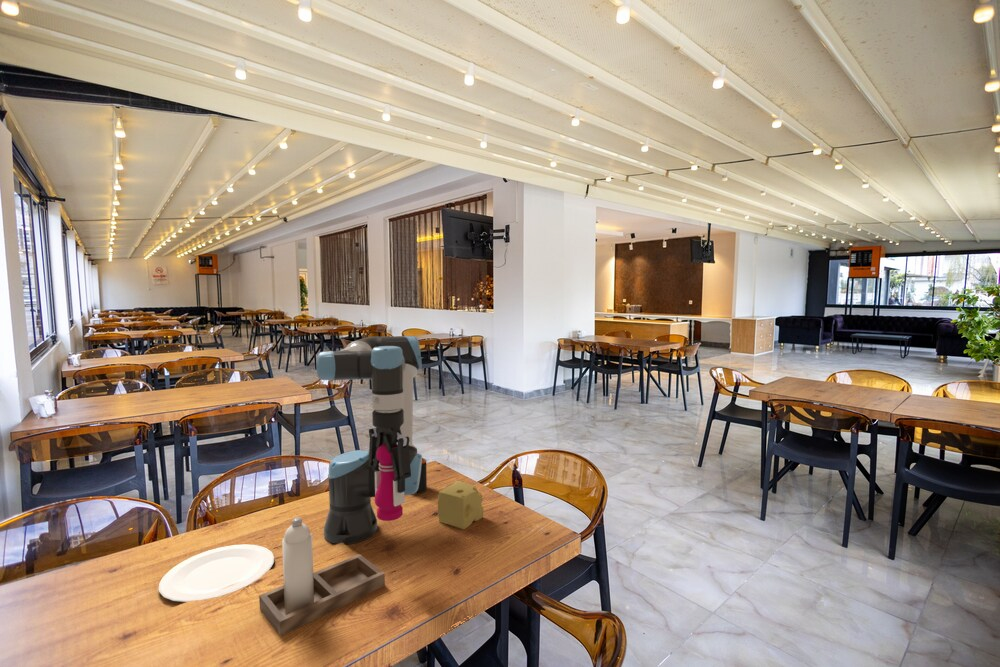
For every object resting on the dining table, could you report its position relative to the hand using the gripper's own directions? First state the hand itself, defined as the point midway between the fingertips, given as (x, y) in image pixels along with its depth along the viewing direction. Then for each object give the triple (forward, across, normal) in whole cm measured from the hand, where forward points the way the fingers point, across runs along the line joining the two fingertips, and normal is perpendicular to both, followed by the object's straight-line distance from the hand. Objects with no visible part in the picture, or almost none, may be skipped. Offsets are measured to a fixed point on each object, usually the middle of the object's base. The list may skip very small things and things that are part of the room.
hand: (389, 499), depth 119 cm
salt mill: (+18, -2, -23) cm, 29 cm away
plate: (+20, -32, -29) cm, 47 cm away
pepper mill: (+4, 0, 0) cm, 4 cm away
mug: (+19, -36, +36) cm, 54 cm away
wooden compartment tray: (+19, -2, -17) cm, 26 cm away
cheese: (+19, -8, +32) cm, 38 cm away
